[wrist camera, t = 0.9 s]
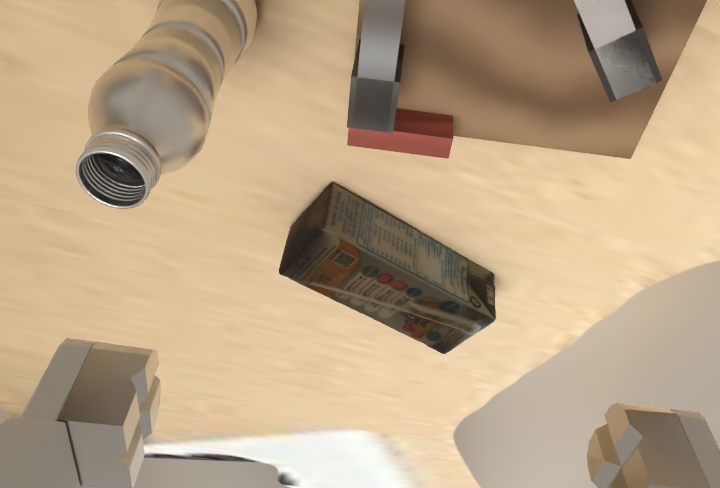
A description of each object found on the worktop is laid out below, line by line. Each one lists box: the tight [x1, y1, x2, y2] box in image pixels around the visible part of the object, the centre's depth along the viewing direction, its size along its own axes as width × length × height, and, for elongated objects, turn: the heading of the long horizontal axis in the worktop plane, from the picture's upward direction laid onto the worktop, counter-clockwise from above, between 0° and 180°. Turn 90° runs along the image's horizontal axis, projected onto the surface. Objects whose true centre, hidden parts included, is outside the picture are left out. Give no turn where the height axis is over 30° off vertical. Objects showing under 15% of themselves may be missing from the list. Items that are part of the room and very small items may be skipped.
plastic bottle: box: [76, 0, 257, 209], centre depth 38 cm, size 6×7×20 cm
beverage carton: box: [279, 183, 496, 354], centre depth 59 cm, size 8×19×7 cm, turn 56°
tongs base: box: [347, 0, 707, 159], centre depth 39 cm, size 25×22×8 cm
